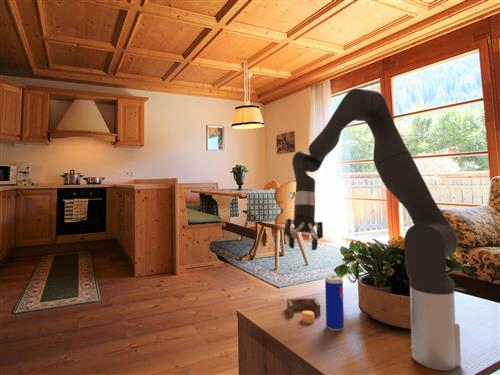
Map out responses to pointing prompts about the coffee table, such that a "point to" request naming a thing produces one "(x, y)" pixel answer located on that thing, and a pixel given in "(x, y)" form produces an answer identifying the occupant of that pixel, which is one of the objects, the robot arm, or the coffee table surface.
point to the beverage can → (334, 303)
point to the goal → (303, 305)
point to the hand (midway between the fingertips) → (302, 249)
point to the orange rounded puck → (307, 316)
